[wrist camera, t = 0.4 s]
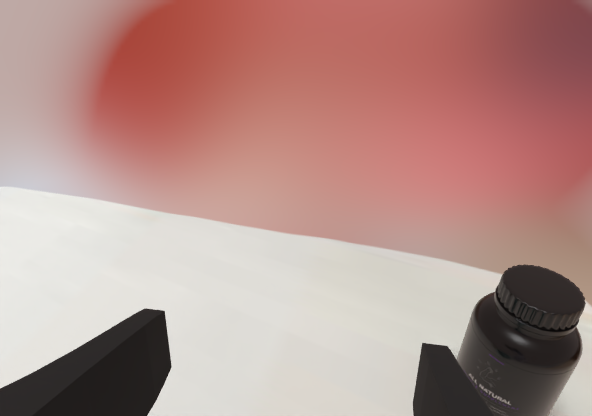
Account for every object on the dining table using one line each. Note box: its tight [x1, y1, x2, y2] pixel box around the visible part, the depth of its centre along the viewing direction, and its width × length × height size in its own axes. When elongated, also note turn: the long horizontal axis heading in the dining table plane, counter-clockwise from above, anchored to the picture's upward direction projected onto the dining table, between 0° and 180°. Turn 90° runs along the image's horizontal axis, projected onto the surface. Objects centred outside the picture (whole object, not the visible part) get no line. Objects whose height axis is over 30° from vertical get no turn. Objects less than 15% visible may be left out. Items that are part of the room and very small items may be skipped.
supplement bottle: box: [457, 265, 585, 416], centre depth 29 cm, size 7×7×12 cm
